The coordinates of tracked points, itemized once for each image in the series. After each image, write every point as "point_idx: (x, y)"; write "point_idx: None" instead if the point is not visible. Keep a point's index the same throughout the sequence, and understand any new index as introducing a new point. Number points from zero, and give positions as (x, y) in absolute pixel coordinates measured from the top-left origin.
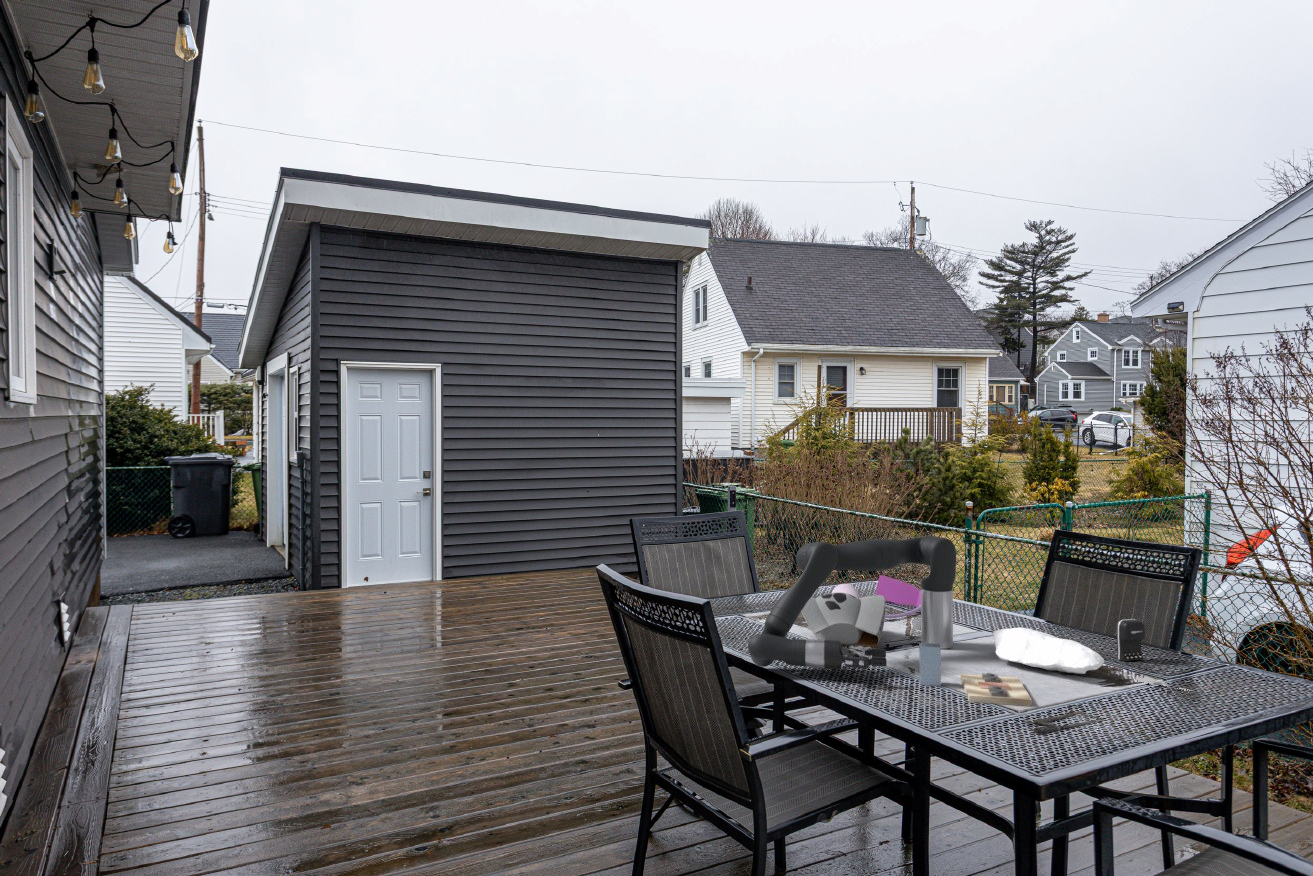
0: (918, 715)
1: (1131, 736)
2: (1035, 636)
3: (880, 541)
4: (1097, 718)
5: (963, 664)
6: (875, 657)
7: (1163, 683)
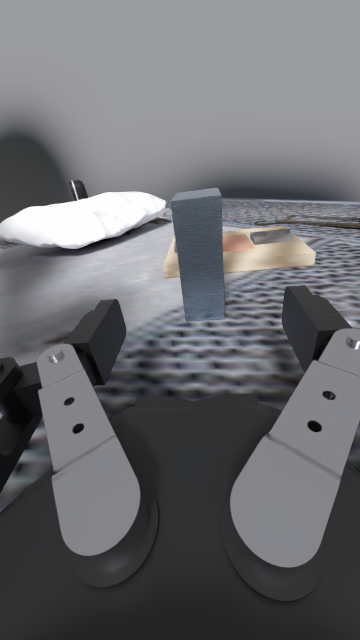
0: None
1: (336, 207)
2: (79, 201)
3: None
4: (293, 216)
5: (61, 280)
6: (324, 313)
7: (168, 208)
